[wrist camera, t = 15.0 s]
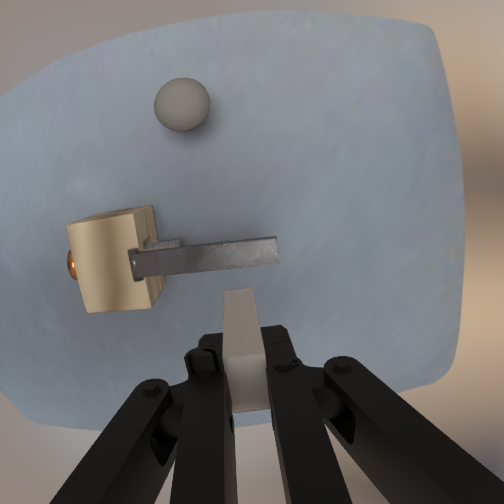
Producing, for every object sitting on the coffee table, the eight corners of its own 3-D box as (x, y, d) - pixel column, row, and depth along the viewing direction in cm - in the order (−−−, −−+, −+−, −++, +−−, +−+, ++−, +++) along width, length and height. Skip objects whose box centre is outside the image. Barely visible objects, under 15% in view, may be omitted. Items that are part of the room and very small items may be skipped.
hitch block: (109, 288, 40) (86, 313, 32) (94, 214, 37) (65, 225, 29) (165, 282, 40) (151, 308, 32) (152, 204, 37) (133, 213, 30)
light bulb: (184, 147, 36) (167, 139, 26) (160, 112, 35) (137, 93, 25) (222, 122, 35) (219, 104, 26) (198, 87, 34) (187, 60, 24)
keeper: (135, 278, 31) (132, 282, 30) (129, 248, 30) (125, 251, 29) (278, 264, 31) (279, 267, 30) (275, 231, 30) (276, 234, 29)
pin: (85, 274, 36) (72, 285, 32) (79, 243, 35) (64, 251, 31) (185, 262, 37) (180, 273, 33) (180, 229, 36) (174, 235, 32)
